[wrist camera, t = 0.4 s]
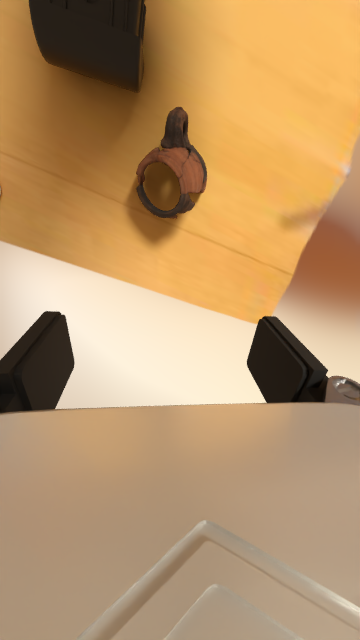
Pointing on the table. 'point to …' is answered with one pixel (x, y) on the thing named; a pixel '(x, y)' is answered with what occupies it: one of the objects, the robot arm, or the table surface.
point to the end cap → (93, 38)
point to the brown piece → (176, 164)
